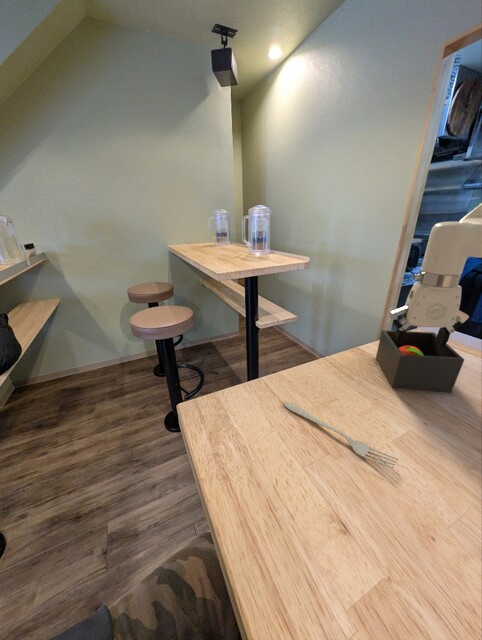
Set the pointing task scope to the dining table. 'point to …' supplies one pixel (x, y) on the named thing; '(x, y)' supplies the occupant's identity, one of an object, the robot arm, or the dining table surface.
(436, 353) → the bin
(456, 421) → the dining table surface
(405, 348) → the clementine
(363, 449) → the fork
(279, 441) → the dining table surface
